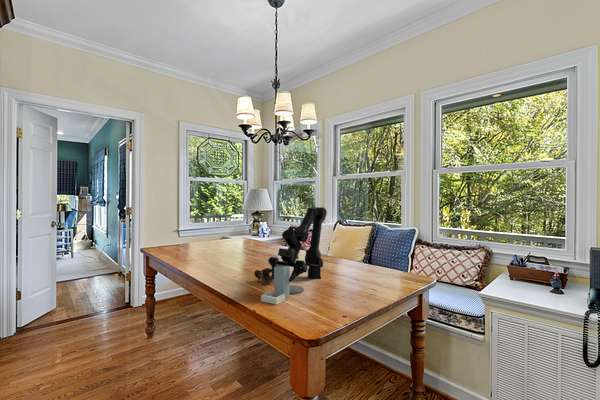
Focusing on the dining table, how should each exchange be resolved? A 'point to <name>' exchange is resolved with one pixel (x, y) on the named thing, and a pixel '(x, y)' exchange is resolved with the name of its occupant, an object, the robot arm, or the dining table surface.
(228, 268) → the dining table surface
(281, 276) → the painted block
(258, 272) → the pottery mug
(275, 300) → the acrylic channel
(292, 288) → the rubber mat
